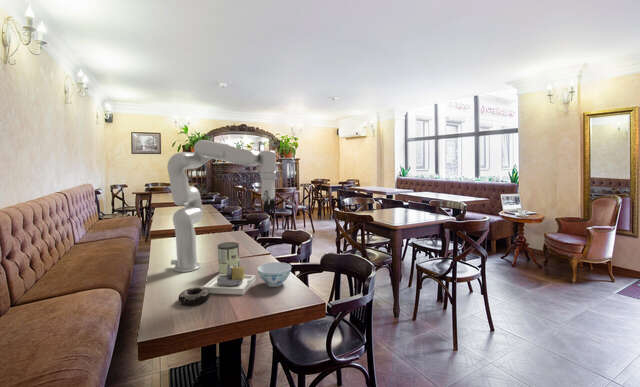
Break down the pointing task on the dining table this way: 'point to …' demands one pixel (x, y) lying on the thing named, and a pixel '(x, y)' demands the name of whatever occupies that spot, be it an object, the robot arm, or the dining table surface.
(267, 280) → the chinaware
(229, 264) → the coffee can
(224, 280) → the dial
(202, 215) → the robot arm
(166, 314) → the dining table surface
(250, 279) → the white square tray
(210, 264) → the dining table surface
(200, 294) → the donut
